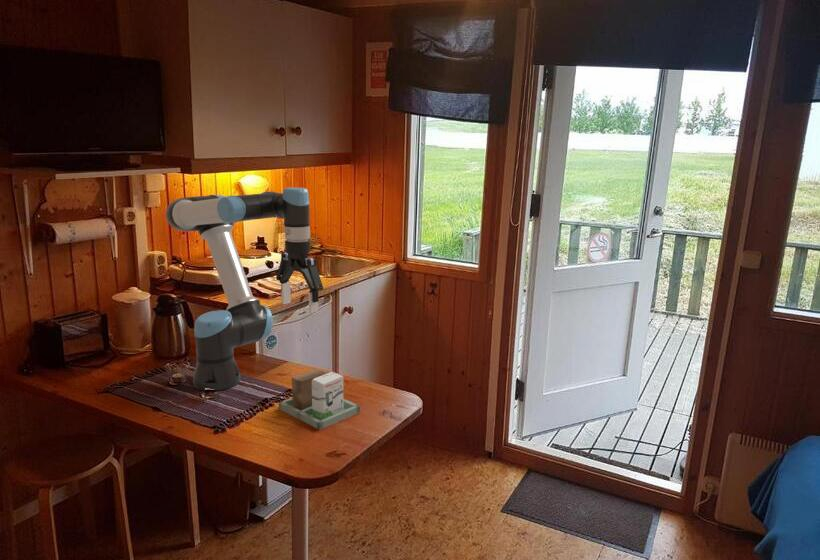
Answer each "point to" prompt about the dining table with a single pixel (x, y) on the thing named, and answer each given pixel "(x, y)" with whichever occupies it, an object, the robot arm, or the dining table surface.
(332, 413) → the ink box
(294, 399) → the walnut block
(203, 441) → the dining table surface
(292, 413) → the slot board
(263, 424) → the dining table surface
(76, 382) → the dining table surface
